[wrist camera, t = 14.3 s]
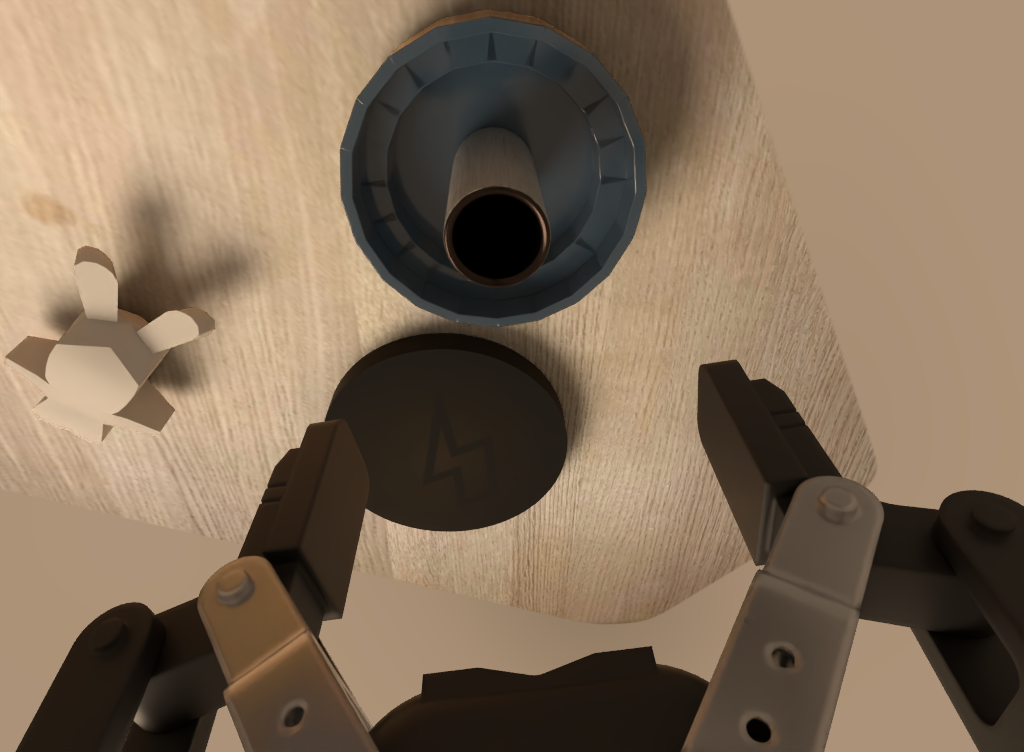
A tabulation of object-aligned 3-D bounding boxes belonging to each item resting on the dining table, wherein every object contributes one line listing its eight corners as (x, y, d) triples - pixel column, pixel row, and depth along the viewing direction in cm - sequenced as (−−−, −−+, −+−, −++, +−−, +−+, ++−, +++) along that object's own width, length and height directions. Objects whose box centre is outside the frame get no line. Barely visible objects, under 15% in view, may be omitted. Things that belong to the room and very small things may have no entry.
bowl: (317, 41, 30) (292, 54, 26) (618, -18, 29) (640, -14, 25) (399, 304, 39) (390, 345, 34) (632, 265, 38) (650, 302, 34)
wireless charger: (468, 285, 38) (467, 300, 36) (607, 449, 47) (611, 466, 45) (277, 416, 43) (269, 434, 42) (433, 540, 52) (431, 559, 51)
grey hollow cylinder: (439, 146, 32) (423, 212, 24) (515, 111, 32) (527, 168, 23) (473, 220, 35) (470, 303, 26) (545, 190, 34) (565, 266, 26)
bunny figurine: (-27, 414, 37) (31, 258, 30) (27, 363, 41) (90, 213, 34) (125, 481, 41) (211, 358, 34) (161, 428, 45) (245, 307, 37)
